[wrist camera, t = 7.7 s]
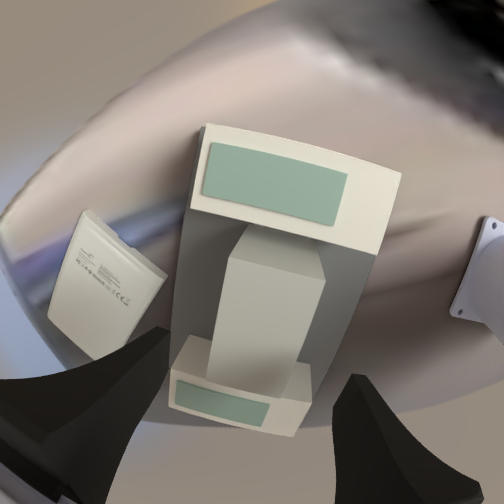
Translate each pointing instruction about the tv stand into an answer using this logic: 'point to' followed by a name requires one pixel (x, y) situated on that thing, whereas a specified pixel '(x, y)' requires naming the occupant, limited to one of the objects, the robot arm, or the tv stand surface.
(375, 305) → the tv stand surface
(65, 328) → the external hard drive
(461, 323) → the tv stand surface
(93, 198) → the tv stand surface
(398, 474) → the robot arm
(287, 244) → the block
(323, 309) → the rail panel
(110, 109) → the tv stand surface
